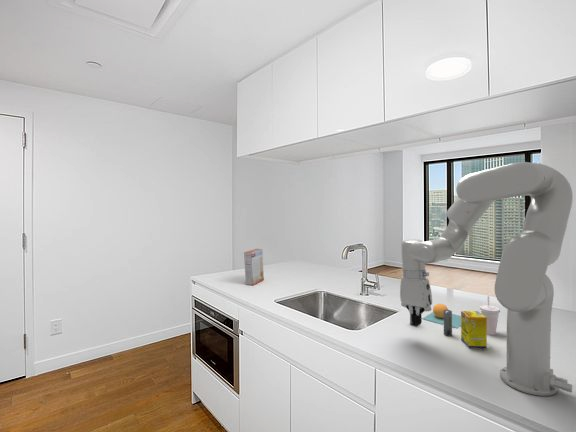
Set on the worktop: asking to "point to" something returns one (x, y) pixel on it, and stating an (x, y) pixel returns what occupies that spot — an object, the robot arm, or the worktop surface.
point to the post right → (448, 322)
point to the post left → (411, 321)
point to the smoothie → (490, 317)
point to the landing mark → (455, 320)
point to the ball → (439, 310)
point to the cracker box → (254, 266)
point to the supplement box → (474, 329)
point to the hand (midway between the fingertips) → (416, 324)
